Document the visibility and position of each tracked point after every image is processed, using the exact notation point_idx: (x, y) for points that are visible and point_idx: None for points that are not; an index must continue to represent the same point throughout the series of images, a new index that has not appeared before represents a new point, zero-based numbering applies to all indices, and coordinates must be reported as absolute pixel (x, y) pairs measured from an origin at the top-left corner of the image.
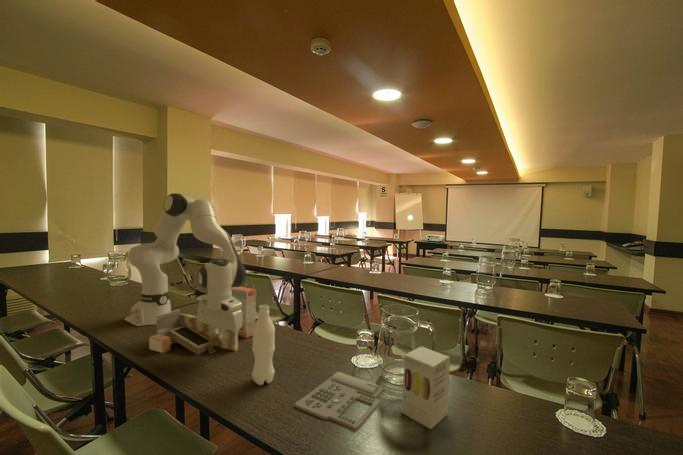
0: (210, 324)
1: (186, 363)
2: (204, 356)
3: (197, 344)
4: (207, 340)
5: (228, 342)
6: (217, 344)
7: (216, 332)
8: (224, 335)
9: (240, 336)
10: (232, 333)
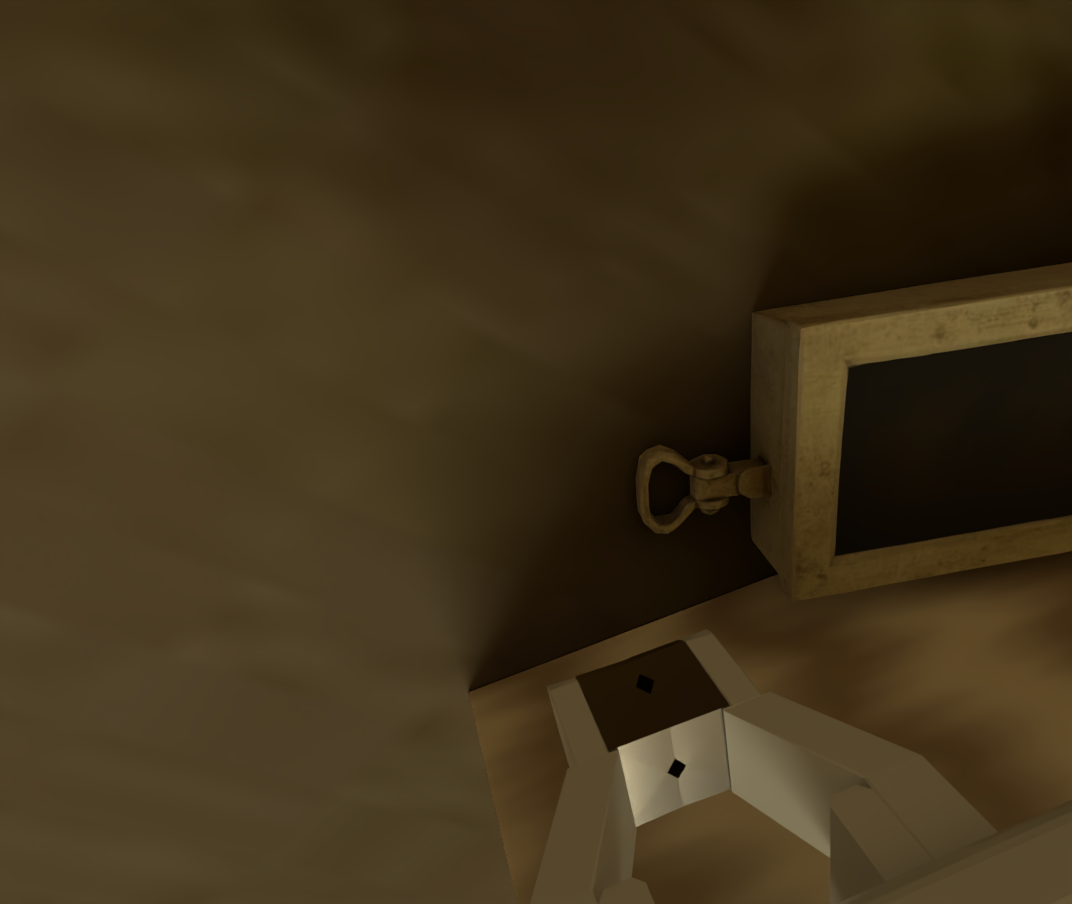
0: (1061, 838)
1: (644, 44)
2: (636, 357)
3: (894, 376)
4: (874, 537)
5: None
6: (756, 603)
7: (724, 734)
8: None
9: None
10: None
